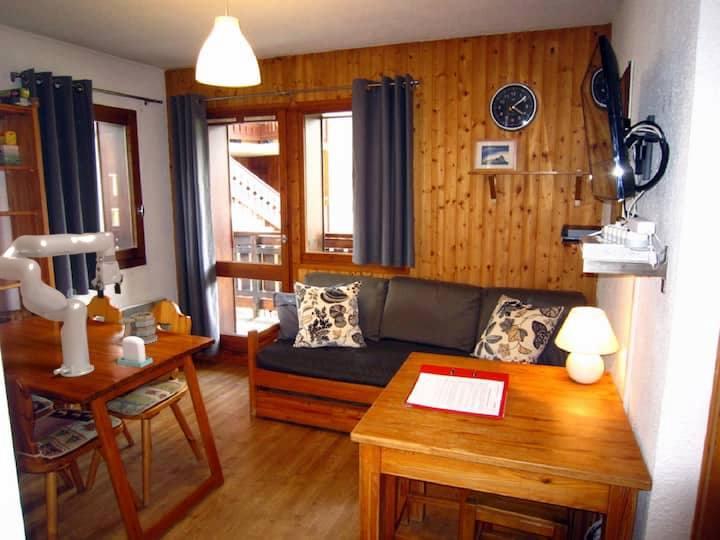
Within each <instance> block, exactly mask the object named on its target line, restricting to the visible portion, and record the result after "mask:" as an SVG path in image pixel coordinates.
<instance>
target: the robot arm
mask: <svg viewBox="0 0 720 540" xmlns="http://www.w3.org/2000/svg"><path fill="white" fill-rule="evenodd" d="M86 253H87V254H88V253H96V258H95V261H96V262H97V263H96V266H95V278H94V279H92V280H91V282H90V283H91V285H92V286H93V288H94V289H95V290H96V292H97V299H104V298H105V294H104V293H105V291H104V289H103V288H104V287H105V286H108V285H109V286H110V285H114V286H113V288H114V294H116V295H121V294H122V292H121V291H122V289H121V288H122V287H121V286H122V284H123V282H124V277H125V275H124V274H123V273H121V270H120V266H119V262H118V260H116V249H115V237H114V233H113V232H112V231H97V232H85V233H81V234H79V233H78V234H77V233H57V234H43V235H41V234H40V235H31V234H30V235H26V234H25V235H24V234H23V235H21V236H18V237H17V238H15V239H14V240H13V241H12V242H11V243H10V244H9V245H8V247H7V248H6V249H5V250H4V251H3V253H1V255H0V279H1V280H6V281H7V280H9V281H20V282H19V283H20V284H19V285H20V287H19V288H20V289H19V290H20V295H21V297H22V304H23V306H24V308H25V309H26V310H28V311H29V312H31V313H32V314H35V315H38V316H40V317H41V318H43V319H47V320H50V321H53V322H54V321H56V322H63V325H62V327H61V329H60V339H61V340H60V341H61V350H62V359H63V363H62V364H61V366H60V368H57V369H54V370H53V374H54V375H58V374H60V375H61V376H62V377H70V378H71V377H80V376H83V375H87V374H89V373H92V372H94V370H95V366H94V365H92V364H90V355H89V344H88V334H87V317H88V307H87V305H86V303H85V302H84V301H82V300H80V299H77V298H66V296H65V295H64V294H63V293H62V292H61V291H59V290H58V289H55V288H54V287H51V286H49V285H48V284H46V283H45V282H43V280H42V269H41V267H40V265H39V263H38V262H37V261H35V260H34V259H33V258H47V257H48V258H49V257H56V256H66V255H77V254H86ZM31 258H32V259H31Z"/></svg>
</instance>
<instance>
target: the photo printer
mask: <svg viewBox="0 0 720 540" xmlns="http://www.w3.org/2000/svg"><path fill="white" fill-rule="evenodd" d="M121 344H122V356H123V357H124V360H125V361H132V362H139V363H141V362H143V361H146V357H147V356H146V348H145V345H144V341H143V340H142V339H141V338H138V337H135V336H131V335H129V337H126V338H124V337H123V339H122V343H121Z"/></svg>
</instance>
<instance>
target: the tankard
mask: <svg viewBox="0 0 720 540" xmlns="http://www.w3.org/2000/svg"><path fill="white" fill-rule="evenodd" d="M155 322H156V318H155V317H154V313H153V312H149V311H148V312H147V311H145V312H144V311H143V312H136V313H132V314H131V315H130V319H128V318H123V317H121V318H120V319H119V320H118V323H119V325H122V324H123V323H124V331H123V339H124V338H126V337H129V336H135V337H138V338H141V339H142V340H143V341H144V344H148V345H150V344H149V343H151V344H153V343H152V342H154V343H156V342H158V339H159V338H158V335H155V334H156V326H155ZM129 333H130V334H129ZM157 338H158V339H157ZM155 341H156V342H155Z"/></svg>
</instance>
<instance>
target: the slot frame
mask: <svg viewBox="0 0 720 540" xmlns="http://www.w3.org/2000/svg"><path fill="white" fill-rule="evenodd" d="M145 357H146V361H143V362H141V363H139V362H132V361H125V360H124V356H123V357H122V358H119V359H117V365H120V364H121V366H127V365H128V367H134V368H135V367H136V368H139V369H140V368H143V367H145V366H148V365H151V364H152V363H153V358H152V357H148V356H145Z"/></svg>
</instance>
